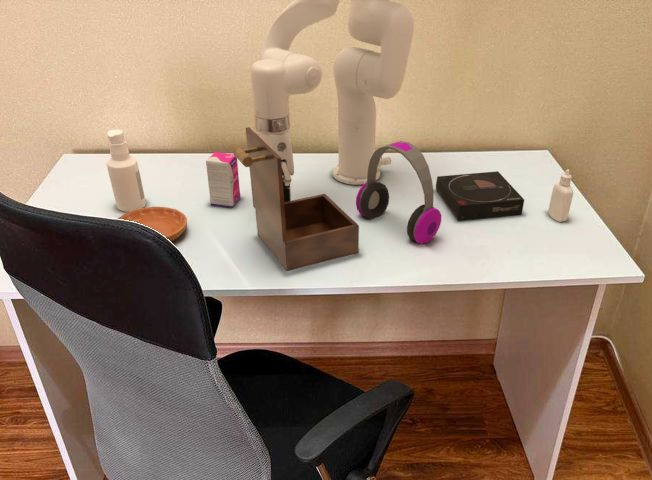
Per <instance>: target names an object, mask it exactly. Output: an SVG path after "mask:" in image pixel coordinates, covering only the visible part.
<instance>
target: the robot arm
mask: <svg viewBox="0 0 652 480" xmlns="http://www.w3.org/2000/svg"><path fill="white" fill-rule="evenodd" d="M340 1H341V0H292V1H291V2H290V3H289V4H287V6H286V7H285V8H284V9H283V10H282V11H281V12H280V13H279V14H278V15H277V16H276V18H275V19H274V20H273V22H272V23H271V25H270V26H269V28H268V30H267V33H266V35H265V38H264V41H263V44H262V48H261V51H260V55H259V60H257V61H255V62H253V63H252V64H251V67H250V81H251V92H252V93H251V94H252V104H253V115H254V116H253V118H254V129H255V131H256V132H257V135H258V136H259V137H260V138H261V139H262V140H263V141H264V142H265V143H266V144H267V145H268V146H269V147H270V148H271V149H272V150H273V151H274V152H276V153H277V154H278V155H279V156H280V157H281V164H282V178H284V179H283V195H284V202H288V201H290V186H291V184H292V180H293V179H292V177H291V176H294V175H295V165H294V164H295V163H294V154H293V153H294V152H293V146H292V145H293V144H292V140H291V135H290V132H289V131H291V117H290V101H289V100H290V96H293V95H294V96H295V95H305V94H308V93H311V92H313V91H314V90H316V89H317V88H318V86H319V85H320V83H321V81H322V78H323V71H322V70H323V69H322V67H321V65H320V63H319V62H318V61H317V60H316V59H315V58H313V57H311V56H308V55H304V54H301V53H298V52H295V51H290V48H291V45H292V43H293V41H294V40H295V38H296V37H297V36H298V35H299V34H300V33H301V32H302V31H304V30H305V29H306V28H308V27H310V26H312V25H315V24H318V23H320V22H322V21H325V20H327V19H329V18H332V17H333V16H334V15H335V14H336V12H337V10H338V7H339V4H340ZM414 26H415V25H414V18H413V14H412V12H411V10H410V8H409V7H408V6H406V5H405V4H403V3H399V2H396V1H391V0H351V1H350V7H349V13H348V20H347V31H348V33H349V36H351V38H352V39H354V40H355V41H356V40H357V41H359V42H361V43H365V44H368V45H369V44H370V45H372V46H373V45H374V46H377V47H380V52H377V51H374V50H371V49H367V48H363V47H358V46H357V47H356V46H349V47H345V48H343V49H341V50H340V51H339V52H338V53H337V55H336V56H335V58H334V61H333V78H334V83H335V87H336V94H337V95H336V96H337V134H338V135H337V139H338V140H337V141H338V142H337V143H338V144H337V145H338V147H337V148H338V164H337V165H335V166H334V167H333V169H332V176H333V178H334V179H335V180H336V181H338V182H340V183H344V184H347V185H353V186H354V185H357V186H358V185H361V186H362V185H364V184H365V183H366V182H367V174H368V166H369V162H370V159H371V157H372V155H373V153H374V152H375V151H376V133H377V131H376V128H377V106H376V105H377V104H376V101H375V98H379V99H384V100H389V99H392V98H394V97H395V96H397V95H398V93H399V92H400V90H401V88H402V86H403V82H404V80H405V79H404V78H405V74H406V69H407V66H408V65H407V64H408V61H409V55H410V52H411V46H412V41H413V37H414V36H413V35H414V30H415V29H414V28H415V27H414ZM391 164H392V158H391V157H390V156H385V157H383V156H382V157H381V158H380V161H379V164H378V167H377V173H376V181H377V180H379V179H380V177H381V170H380V168H381V167H382V166H387V165H391Z"/></svg>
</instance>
